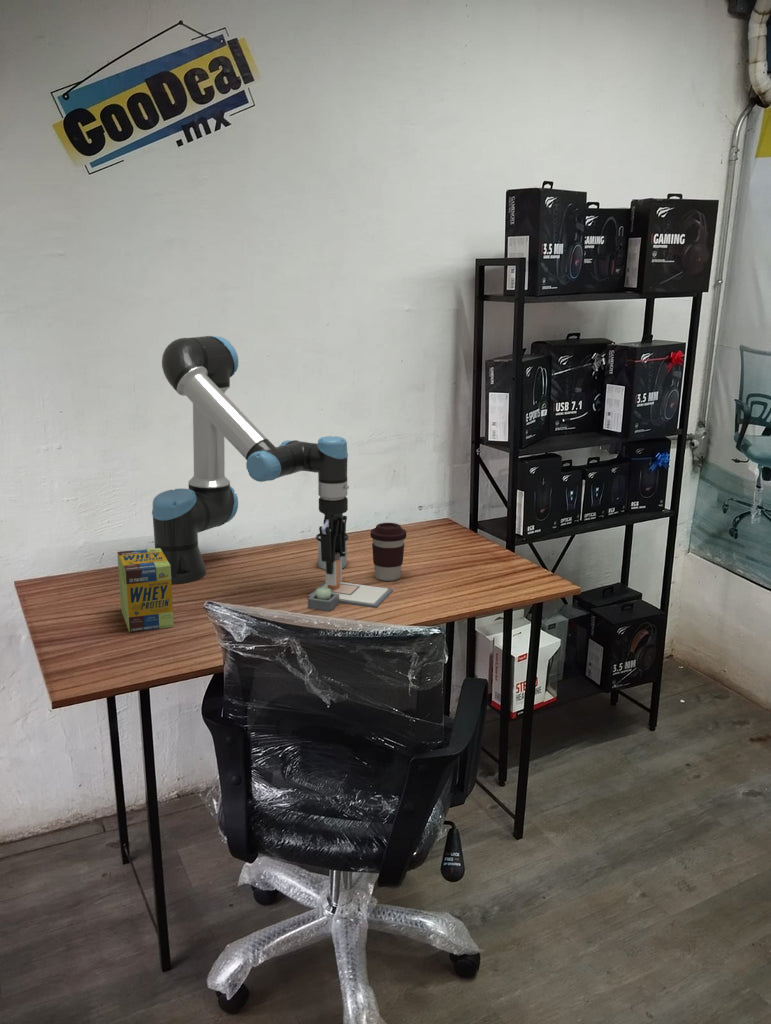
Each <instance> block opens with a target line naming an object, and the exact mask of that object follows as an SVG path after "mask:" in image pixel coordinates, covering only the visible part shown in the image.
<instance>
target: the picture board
mask: <svg viewBox="0 0 771 1024" xmlns="http://www.w3.org/2000/svg"><path fill="white" fill-rule="evenodd" d="M321 587H326V588H328V585H326V581H325V582H323V583H321V585H319V586H318V587H317V588H316V589H314V590H313V591H312V592H310V594H308V595H307V598H308V599H309V598H310V597H311V596H312V595H313V594H315V593H316V592H317V589H318V588H321ZM393 592H394V588H389V587H388V588H387V587H380V586H374V585H373V586H372V585H366V584H360V583H350V582H346V581H345V582H344V581H340V587H339V588H337V589H331V593H335V594H339V604H347V605H353V606H355V605H356V606H360V605H361V606H360V607H368V608H374V607H376V608H378V607H379V606H380V605H381V604H382V603H383V602H384V601H385V600H386V599H387V598H388V597H389V596H390V595H391V594H392V593H393ZM376 608H375V609H376Z"/></svg>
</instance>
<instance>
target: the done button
mask: <svg viewBox="0 0 771 1024" xmlns="http://www.w3.org/2000/svg"><path fill="white" fill-rule="evenodd" d="M317 588H318V587H317ZM317 588H316V589H317ZM330 598H331V589H330V588H326V587H321V588H318V589H317V599H322V600H329V599H330Z"/></svg>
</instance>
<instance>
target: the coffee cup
mask: <svg viewBox="0 0 771 1024" xmlns="http://www.w3.org/2000/svg"><path fill="white" fill-rule="evenodd" d="M369 536H370V538H371V539H372V543H371V547H372V561H373V565H374V567H373V568H374V569H373V571H374V577H375V578H376V579H377V580H380V581H385V582H392V581H398V580H399V579H400V578H401V577H402V566H403V563H404V552H405V543H404V542H405V539H406V538H407V531H406V529H404V528H402V526H401V525H400V524H398V523H395V522H382V523H378V524H376V526H375V527H374V528H372V529H371V530H370V535H369Z"/></svg>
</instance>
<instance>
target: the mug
mask: <svg viewBox="0 0 771 1024" xmlns="http://www.w3.org/2000/svg"><path fill="white" fill-rule="evenodd" d="M315 540H316V541H317V566H318V568H320V569H322V570H325V571H326V562H324V561H322V558H321V537H320V532H319V533H317V534H316V535H315ZM348 540H349V535H348V534H347V533H346V540H345V552H343V553H345V557H343V556H341V557H342V570H343V569H344V568H346V567H347V566H348V565H347V563H348V561H347V559H348V558H347V555H348V553H347V551H348V550H347V548H348V547H347V545H348V542H347V541H348Z"/></svg>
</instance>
